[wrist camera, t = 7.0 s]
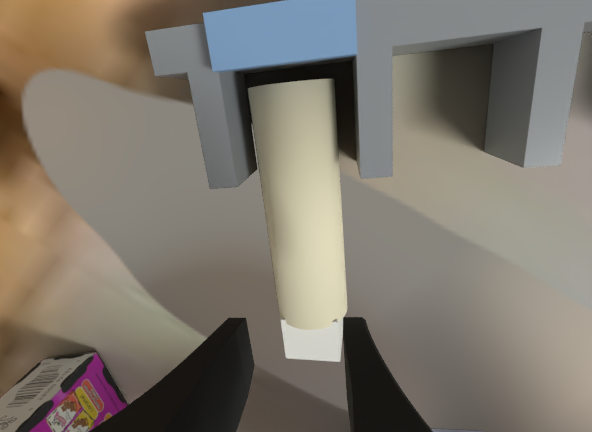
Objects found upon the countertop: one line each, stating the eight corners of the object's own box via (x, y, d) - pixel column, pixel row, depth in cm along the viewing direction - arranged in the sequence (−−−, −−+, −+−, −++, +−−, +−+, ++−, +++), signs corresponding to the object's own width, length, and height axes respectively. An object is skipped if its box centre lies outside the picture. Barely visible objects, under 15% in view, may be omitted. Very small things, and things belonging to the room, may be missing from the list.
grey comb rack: (705, 135, 14) (844, 150, 10) (211, 172, 17) (174, 195, 13) (760, -40, 12) (961, -104, 8) (186, 41, 15) (134, 23, 11)
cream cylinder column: (350, 321, 19) (347, 368, 16) (291, 318, 20) (276, 363, 17) (337, 80, 15) (329, 76, 12) (261, 89, 16) (234, 88, 12)
